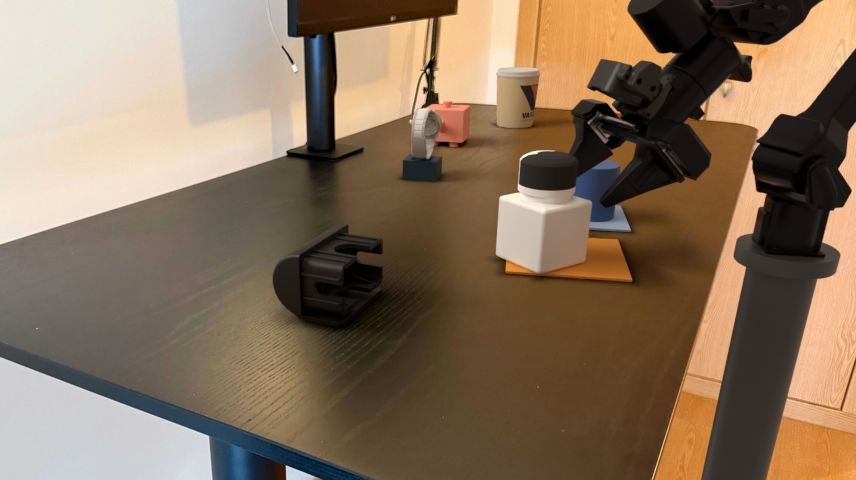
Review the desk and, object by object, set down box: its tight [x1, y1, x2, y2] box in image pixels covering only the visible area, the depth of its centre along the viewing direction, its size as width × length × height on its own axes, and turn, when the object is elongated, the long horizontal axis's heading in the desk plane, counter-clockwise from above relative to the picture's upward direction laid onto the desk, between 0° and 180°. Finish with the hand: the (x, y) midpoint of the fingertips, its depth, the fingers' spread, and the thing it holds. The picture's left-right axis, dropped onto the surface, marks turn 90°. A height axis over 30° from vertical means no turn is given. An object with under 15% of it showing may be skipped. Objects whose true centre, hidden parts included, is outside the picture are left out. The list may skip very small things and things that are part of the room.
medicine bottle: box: [495, 149, 592, 274], centre depth 77 cm, size 7×7×12 cm
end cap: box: [272, 223, 384, 329], centre depth 69 cm, size 10×7×7 cm
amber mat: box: [505, 237, 633, 283], centre depth 81 cm, size 13×13×1 cm
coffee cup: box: [495, 66, 541, 129], centre depth 156 cm, size 9×9×12 cm
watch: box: [402, 107, 443, 182], centre depth 114 cm, size 6×8×11 cm
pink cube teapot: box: [426, 100, 471, 148], centre depth 139 cm, size 8×12×8 cm, turn 161°
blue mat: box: [589, 204, 632, 233], centre depth 95 cm, size 11×11×1 cm
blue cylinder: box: [573, 159, 621, 222], centre depth 94 cm, size 6×6×7 cm
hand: (579, 193), depth 78 cm, fingers open, 9 cm apart
